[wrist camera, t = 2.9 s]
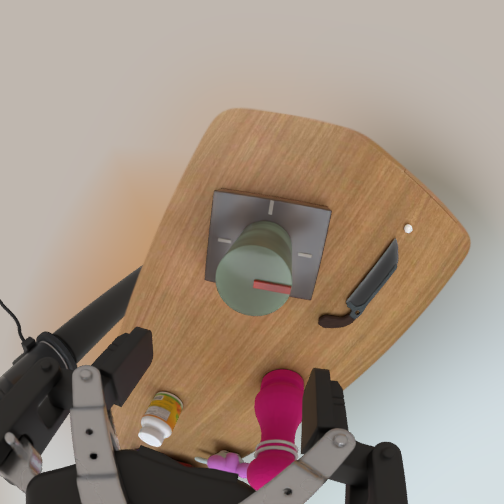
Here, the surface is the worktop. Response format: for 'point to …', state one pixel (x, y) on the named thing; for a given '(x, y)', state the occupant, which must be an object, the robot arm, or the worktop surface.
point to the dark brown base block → (280, 212)
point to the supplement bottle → (160, 418)
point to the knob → (257, 270)
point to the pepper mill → (276, 425)
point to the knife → (366, 289)
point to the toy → (226, 463)
